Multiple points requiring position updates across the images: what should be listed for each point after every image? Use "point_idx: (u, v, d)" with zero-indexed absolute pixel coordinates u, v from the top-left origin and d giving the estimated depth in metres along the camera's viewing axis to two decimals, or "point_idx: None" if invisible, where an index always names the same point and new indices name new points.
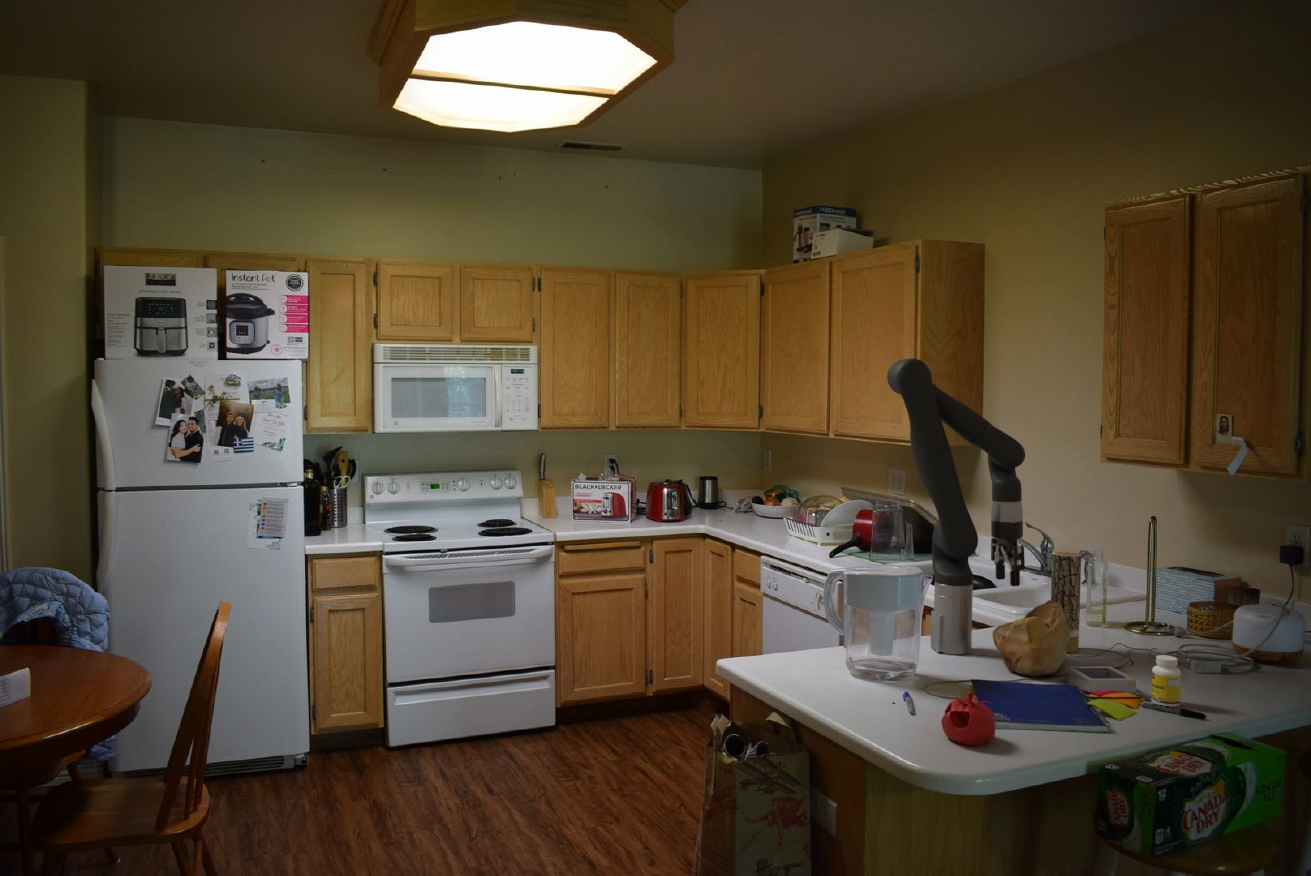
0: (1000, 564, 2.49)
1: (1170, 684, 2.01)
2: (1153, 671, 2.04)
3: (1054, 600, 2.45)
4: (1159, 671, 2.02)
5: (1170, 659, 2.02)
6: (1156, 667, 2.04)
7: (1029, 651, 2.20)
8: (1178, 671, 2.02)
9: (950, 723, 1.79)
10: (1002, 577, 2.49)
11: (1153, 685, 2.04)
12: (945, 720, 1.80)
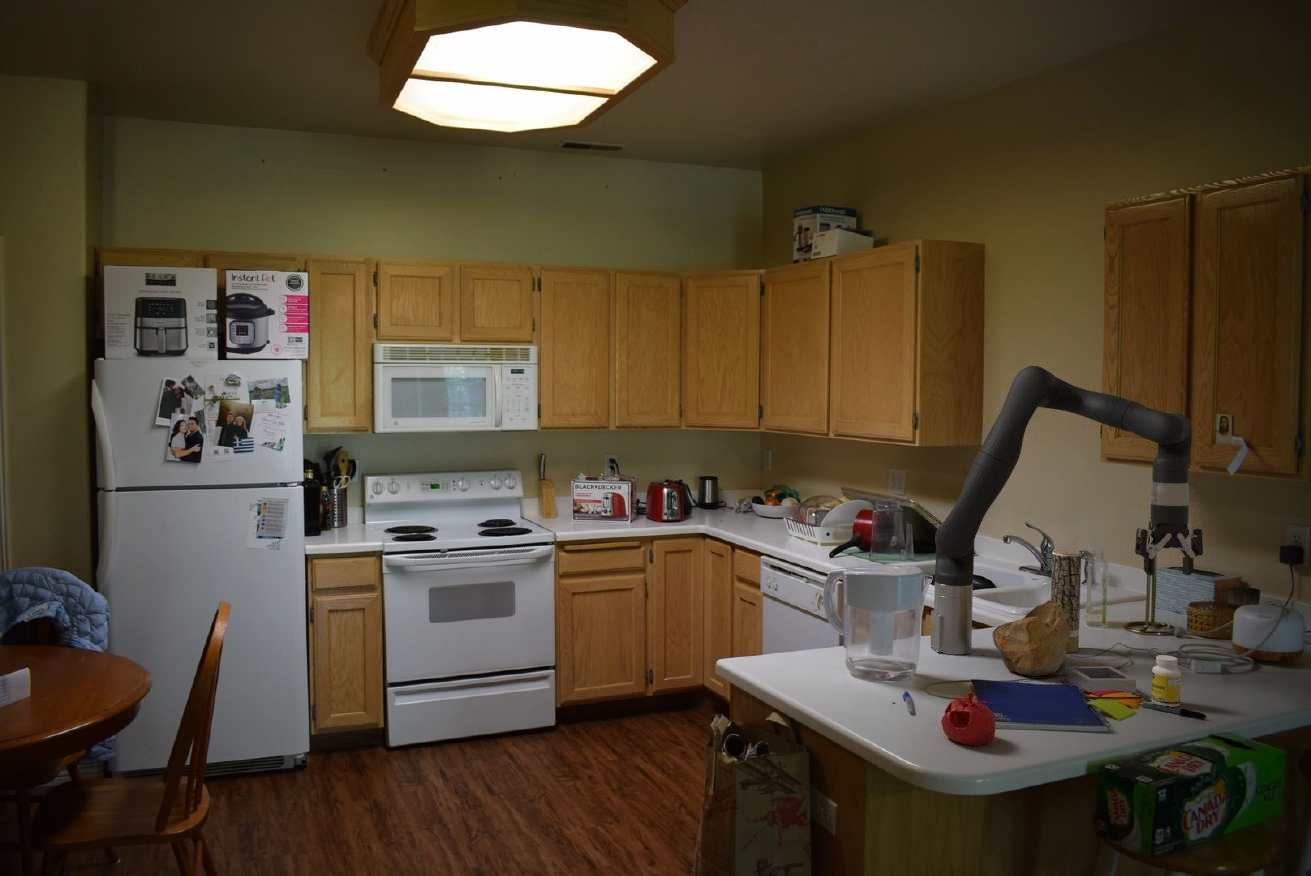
0: None
1: (1170, 684, 2.01)
2: (1153, 671, 2.04)
3: (1054, 600, 2.45)
4: (1159, 671, 2.02)
5: (1170, 659, 2.02)
6: (1156, 667, 2.04)
7: (1029, 651, 2.20)
8: (1178, 671, 2.02)
9: (950, 723, 1.79)
10: None
11: (1153, 685, 2.04)
12: (945, 720, 1.80)
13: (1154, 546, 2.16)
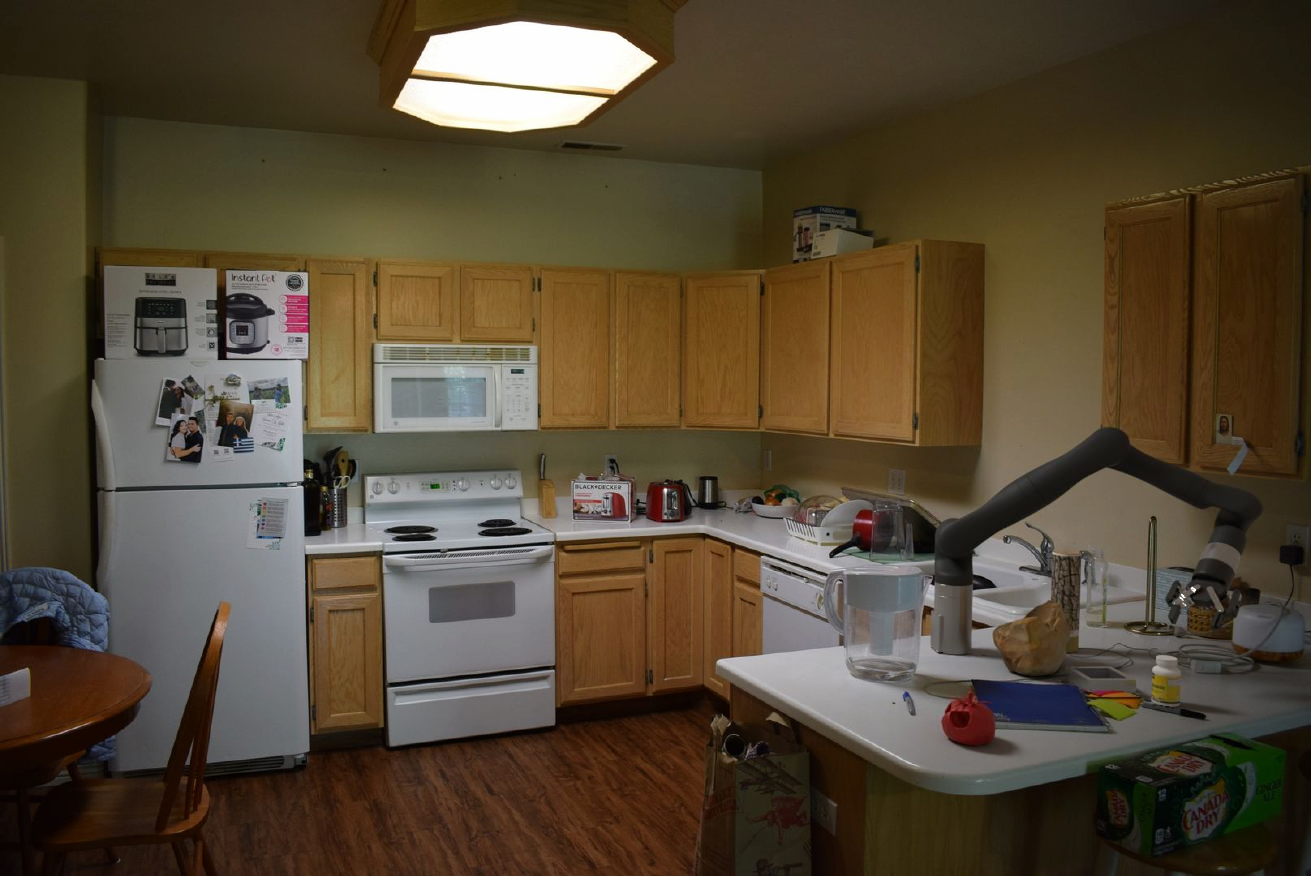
0: (1179, 608, 2.15)
1: (1170, 684, 2.01)
2: (1153, 671, 2.04)
3: (1054, 600, 2.45)
4: (1159, 671, 2.02)
5: (1170, 659, 2.02)
6: (1156, 667, 2.04)
7: (1028, 651, 2.20)
8: (1178, 671, 2.02)
9: (950, 723, 1.79)
10: (1174, 621, 2.14)
11: (1153, 685, 2.04)
12: (945, 720, 1.80)
13: None
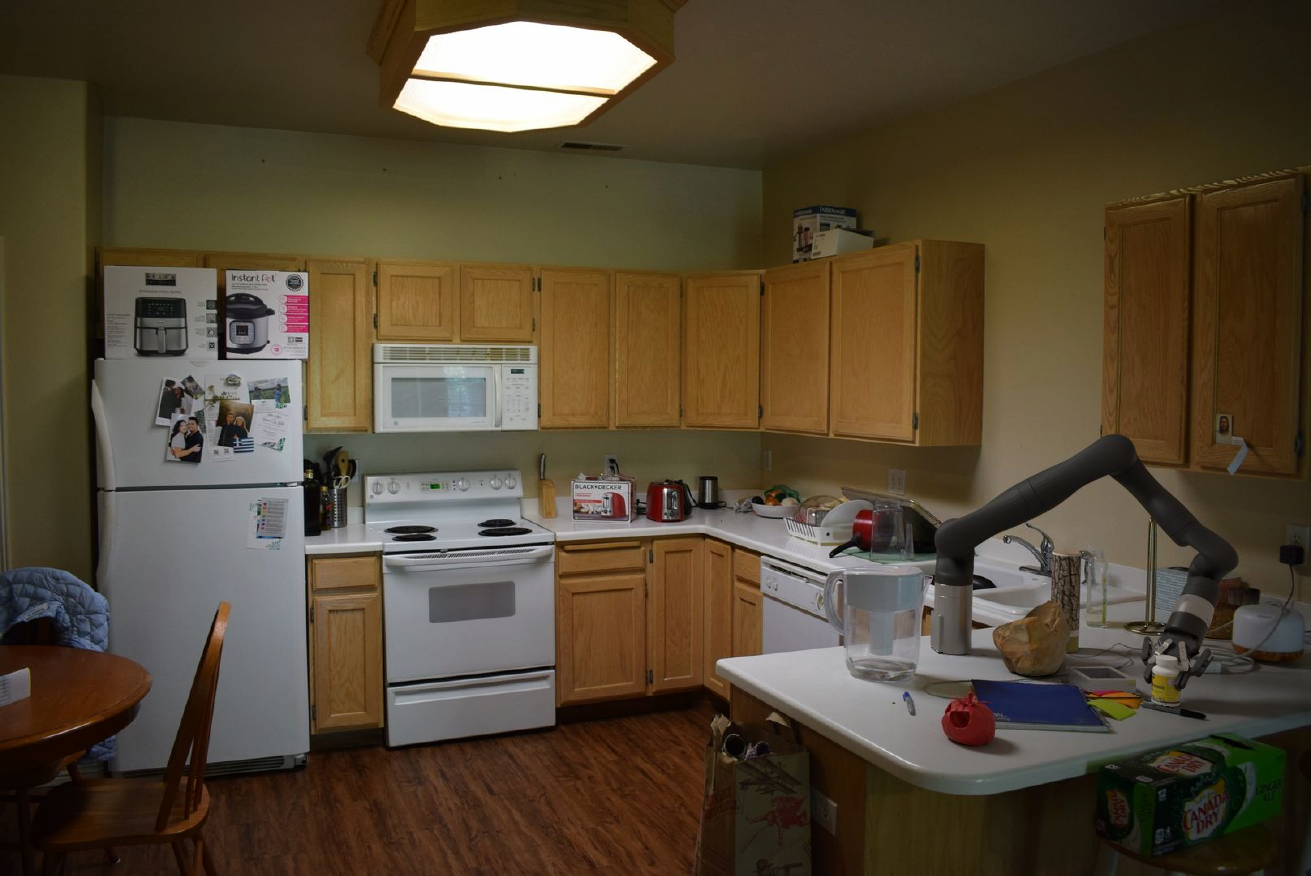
0: None
1: (1170, 684, 2.01)
2: (1153, 671, 2.04)
3: (1054, 600, 2.45)
4: (1159, 671, 2.02)
5: (1170, 659, 2.02)
6: (1156, 667, 2.04)
7: (1028, 651, 2.20)
8: (1178, 671, 2.02)
9: (950, 723, 1.79)
10: (1150, 681, 2.05)
11: (1153, 685, 2.04)
12: (945, 720, 1.80)
13: None
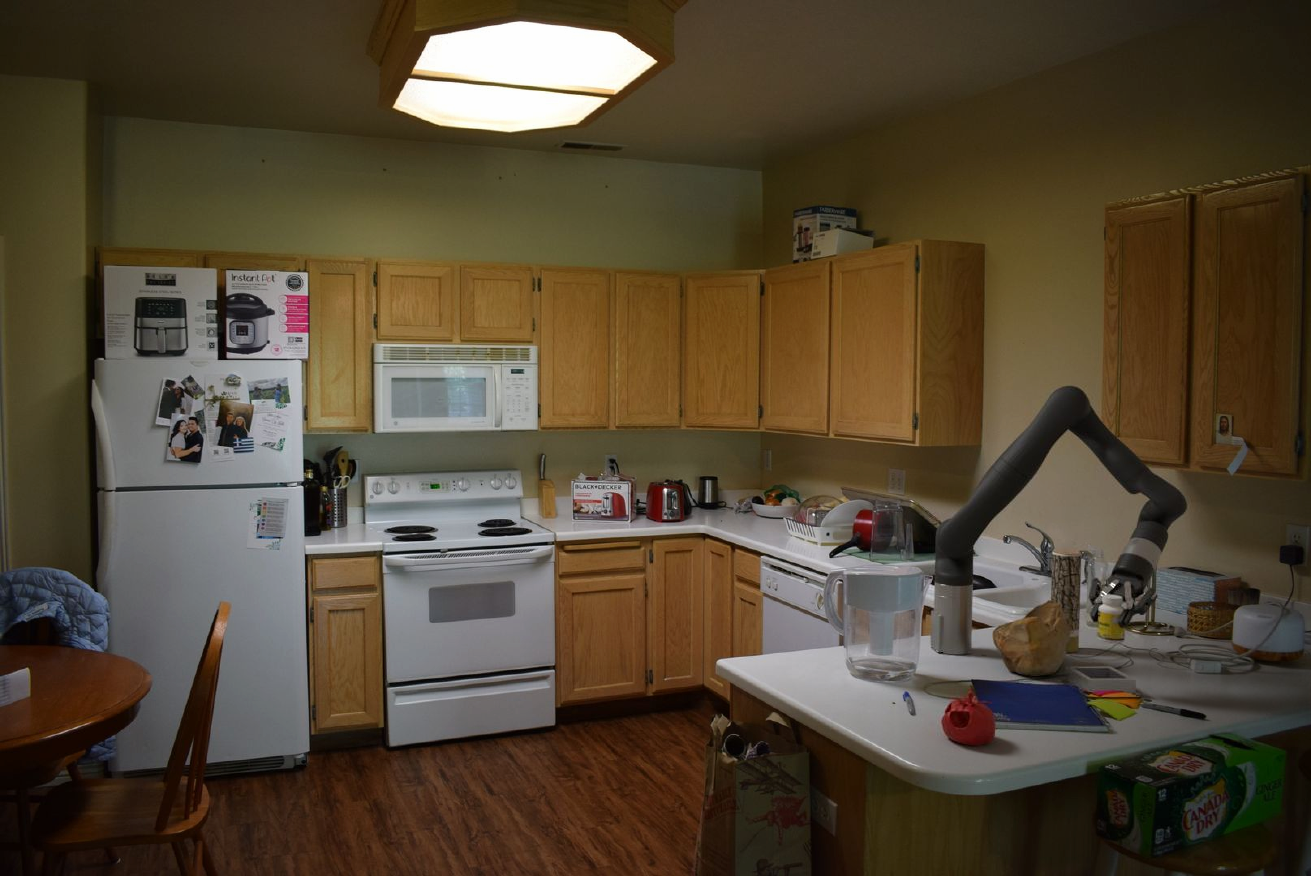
0: None
1: (1114, 621, 2.08)
2: (1099, 609, 2.11)
3: (1054, 600, 2.45)
4: (1104, 609, 2.10)
5: (1115, 597, 2.10)
6: (1102, 605, 2.11)
7: (1028, 651, 2.20)
8: (1123, 609, 2.09)
9: (950, 723, 1.79)
10: (1096, 619, 2.13)
11: (1098, 623, 2.11)
12: (945, 720, 1.80)
13: None
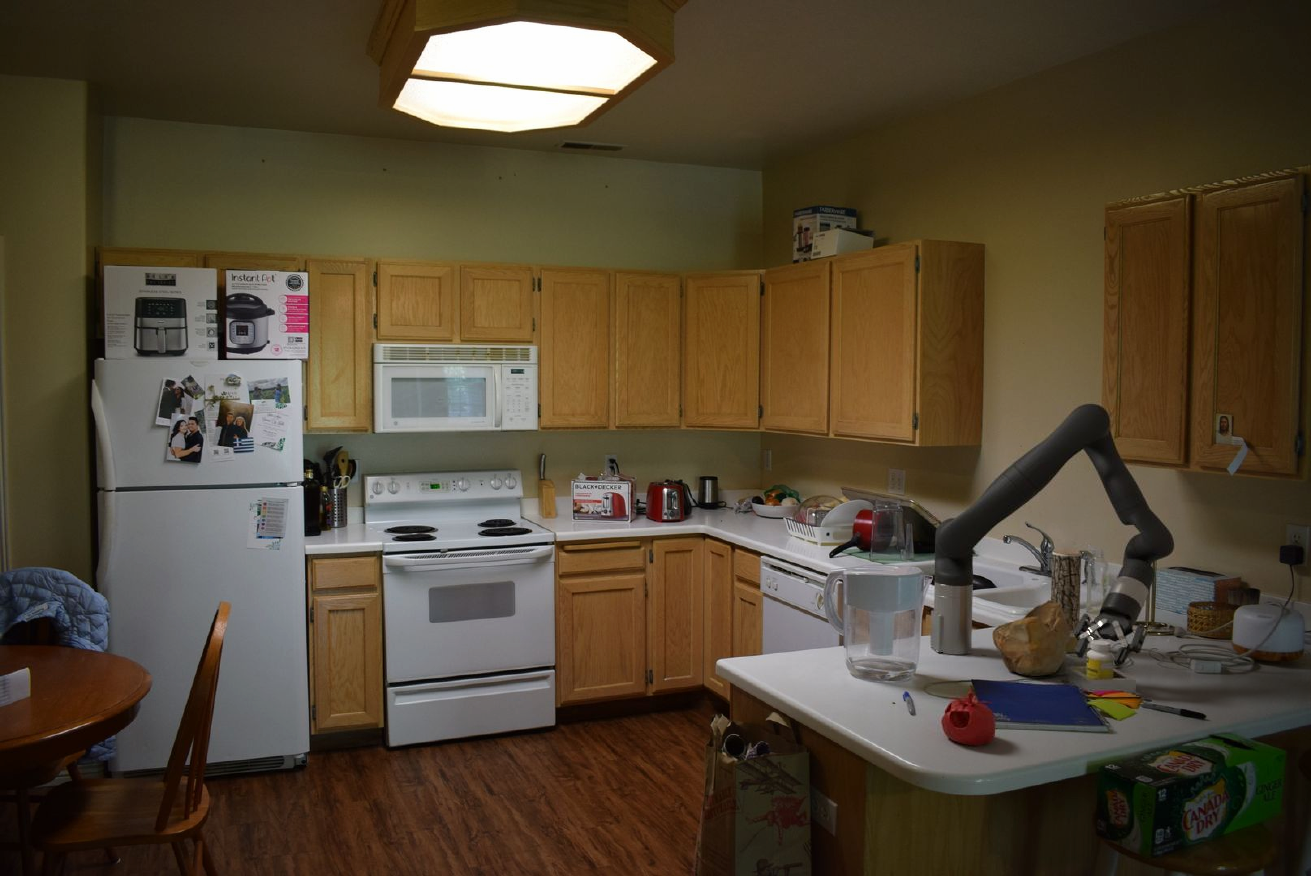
0: (1086, 641, 2.17)
1: (1102, 667, 2.11)
2: (1087, 655, 2.14)
3: (1054, 600, 2.45)
4: (1092, 655, 2.12)
5: (1103, 643, 2.12)
6: (1090, 651, 2.14)
7: (1028, 651, 2.20)
8: (1110, 655, 2.12)
9: (950, 723, 1.79)
10: (1081, 655, 2.16)
11: (1087, 669, 2.14)
12: (945, 720, 1.80)
13: None
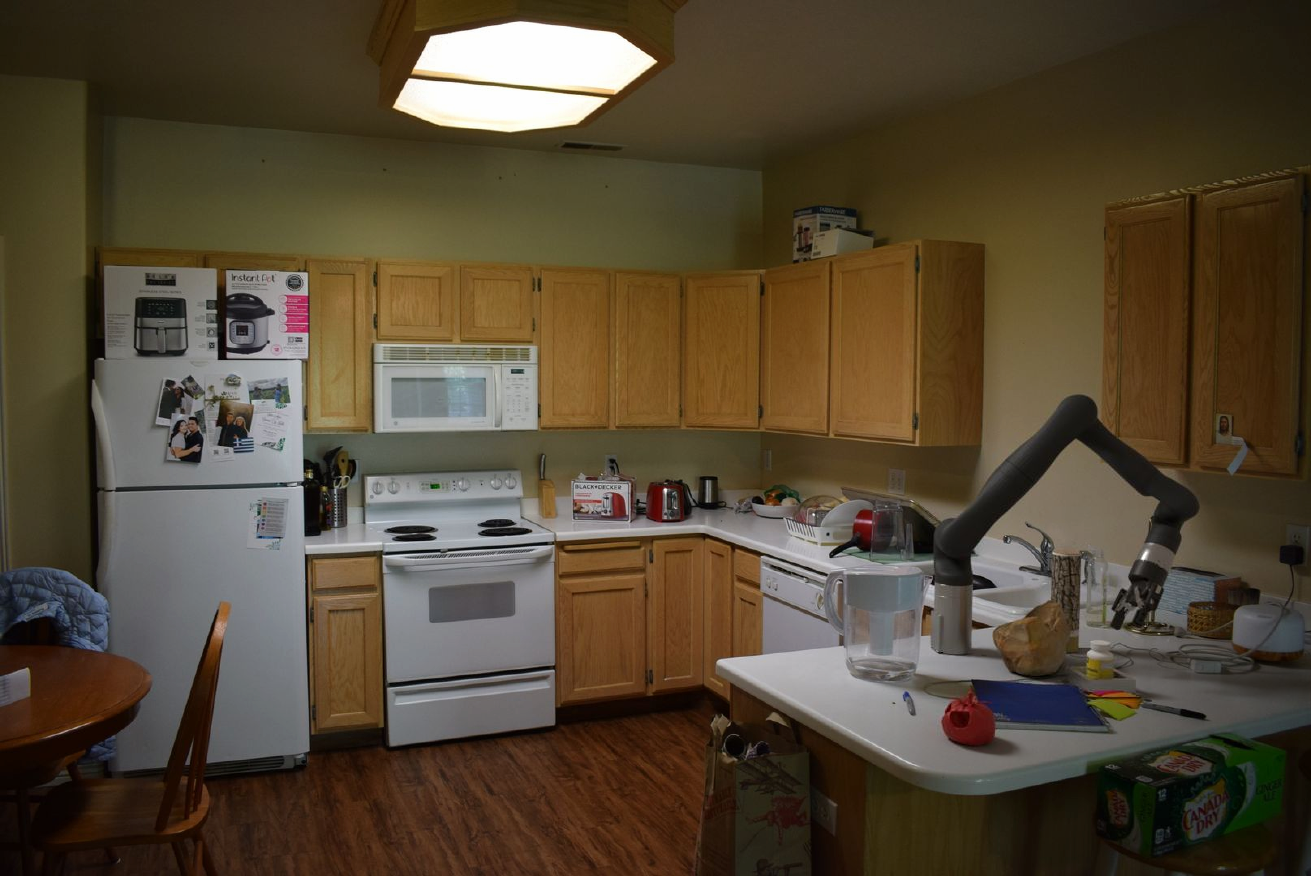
0: (1121, 613, 2.26)
1: (1102, 668, 2.11)
2: (1087, 655, 2.14)
3: (1054, 600, 2.45)
4: (1092, 655, 2.12)
5: (1103, 644, 2.12)
6: (1090, 651, 2.14)
7: (1028, 651, 2.20)
8: (1111, 655, 2.12)
9: (950, 723, 1.79)
10: (1117, 627, 2.25)
11: (1087, 669, 2.14)
12: (945, 720, 1.80)
13: None
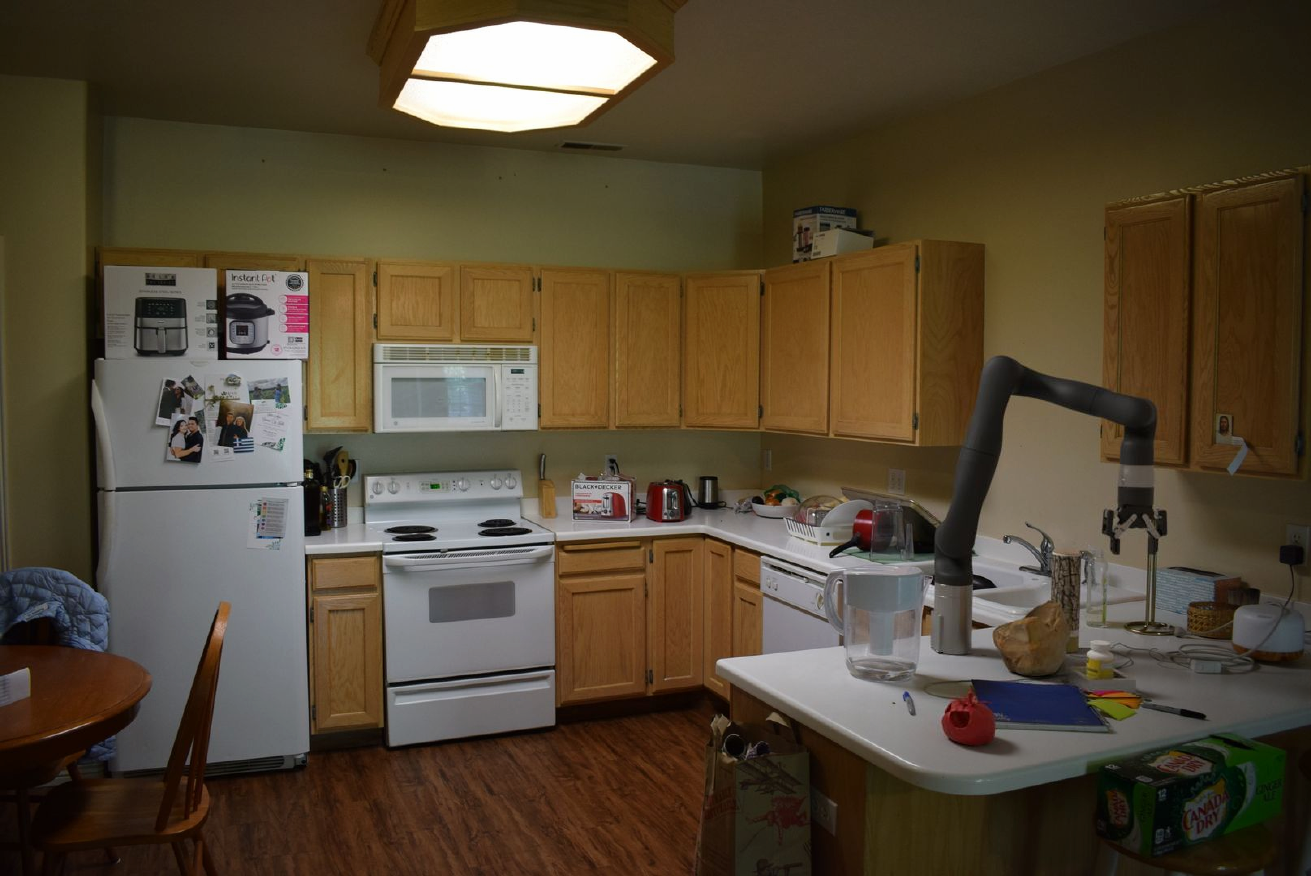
0: (1151, 537, 2.24)
1: (1102, 668, 2.11)
2: (1087, 655, 2.14)
3: (1054, 600, 2.45)
4: (1092, 655, 2.12)
5: (1103, 644, 2.12)
6: (1090, 651, 2.14)
7: (1029, 651, 2.20)
8: (1111, 655, 2.12)
9: (950, 723, 1.79)
10: (1151, 552, 2.24)
11: (1087, 669, 2.14)
12: (945, 720, 1.80)
13: None
